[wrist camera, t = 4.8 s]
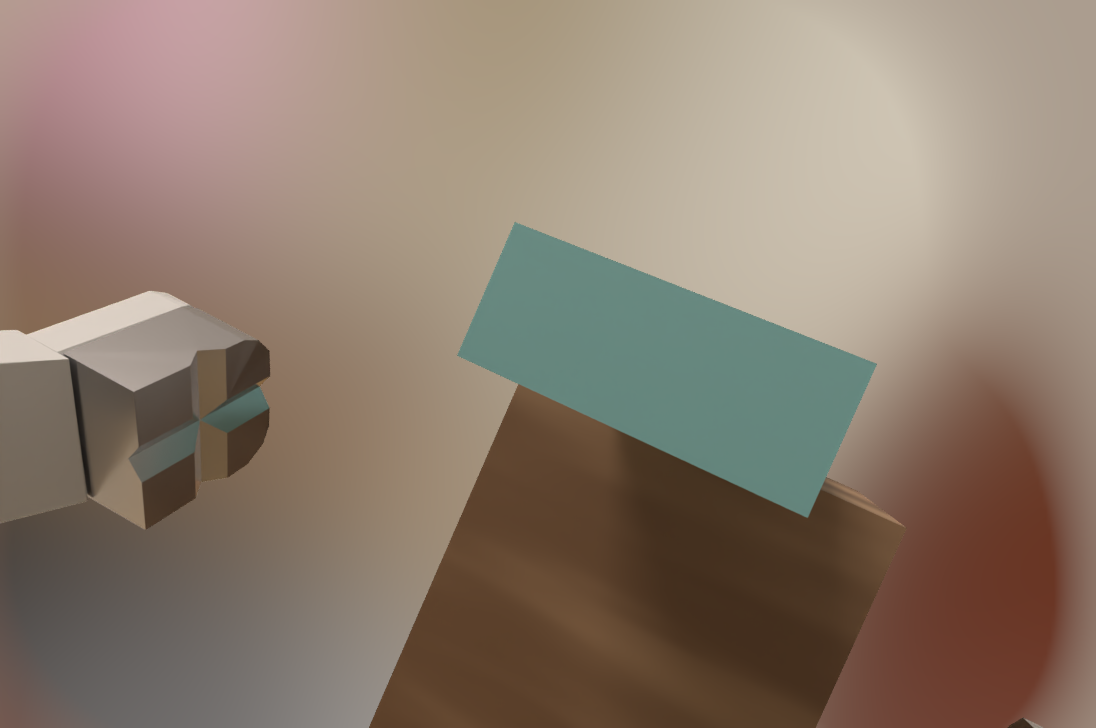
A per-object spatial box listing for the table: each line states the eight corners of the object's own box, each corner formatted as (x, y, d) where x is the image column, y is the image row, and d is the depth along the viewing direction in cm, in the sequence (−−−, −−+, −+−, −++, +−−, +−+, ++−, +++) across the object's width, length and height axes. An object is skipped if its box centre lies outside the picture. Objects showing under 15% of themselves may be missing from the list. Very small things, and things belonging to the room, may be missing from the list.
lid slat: (807, 517, 8) (877, 364, 8) (457, 354, 9) (514, 221, 9) (798, 464, 27) (817, 420, 27) (687, 415, 28) (706, 373, 28)
